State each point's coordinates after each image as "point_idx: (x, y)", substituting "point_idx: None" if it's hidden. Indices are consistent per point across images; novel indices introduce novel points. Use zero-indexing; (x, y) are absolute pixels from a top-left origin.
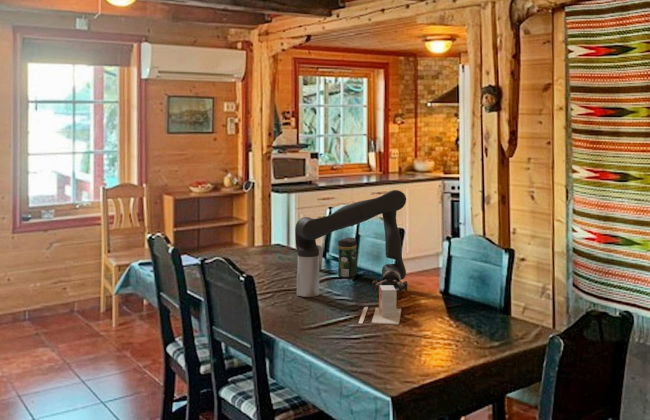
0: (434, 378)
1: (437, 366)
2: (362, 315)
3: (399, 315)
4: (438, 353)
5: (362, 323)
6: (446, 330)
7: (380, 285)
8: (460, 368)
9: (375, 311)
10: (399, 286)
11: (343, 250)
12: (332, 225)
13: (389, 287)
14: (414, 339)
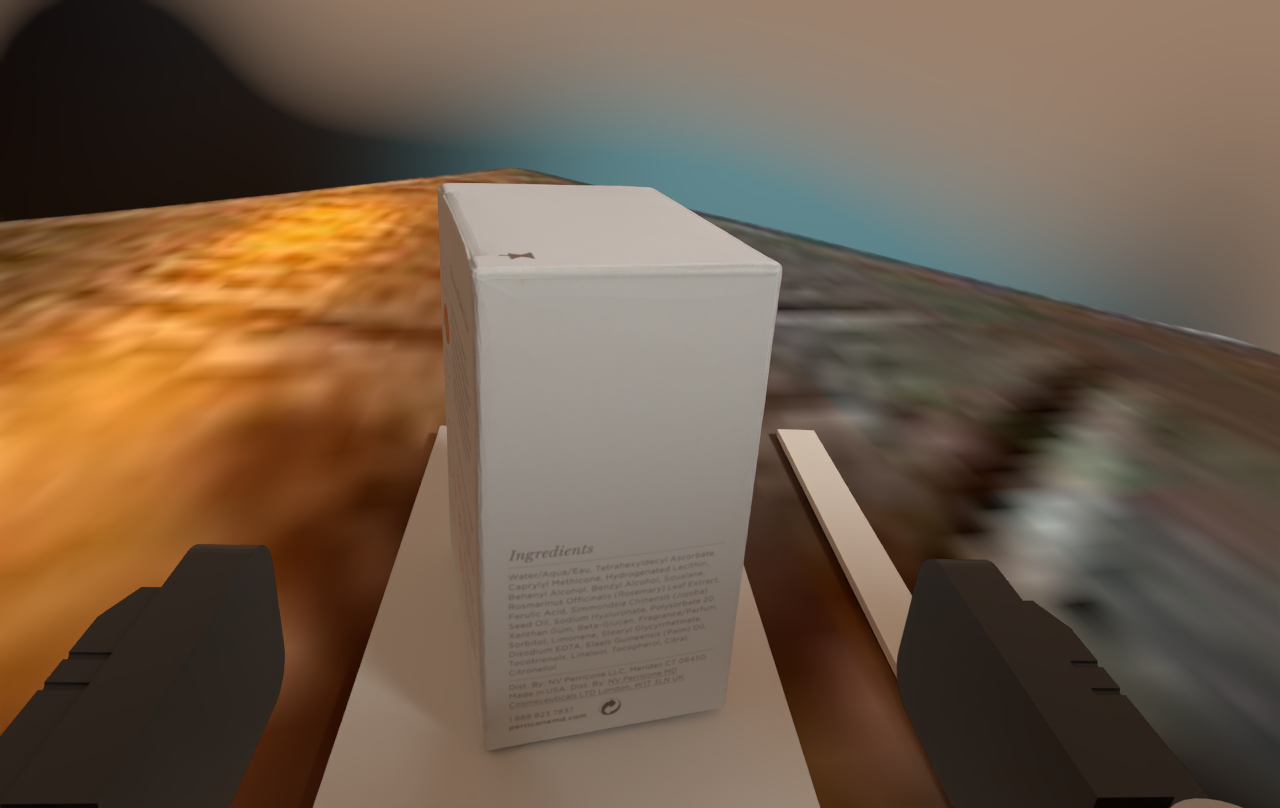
0: (381, 184)
1: (343, 205)
2: (884, 577)
3: (393, 600)
4: (294, 238)
5: (777, 435)
6: (29, 379)
7: (755, 257)
8: (260, 198)
9: (781, 718)
10: (189, 611)
11: None
12: None
13: (554, 215)
14: (370, 302)
